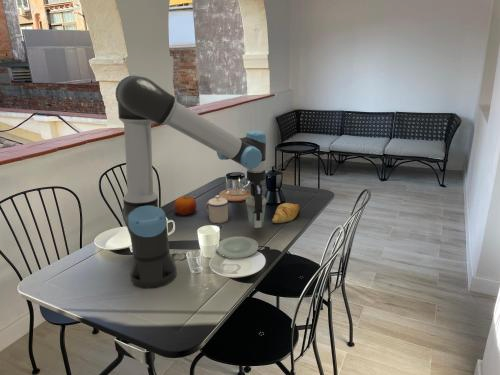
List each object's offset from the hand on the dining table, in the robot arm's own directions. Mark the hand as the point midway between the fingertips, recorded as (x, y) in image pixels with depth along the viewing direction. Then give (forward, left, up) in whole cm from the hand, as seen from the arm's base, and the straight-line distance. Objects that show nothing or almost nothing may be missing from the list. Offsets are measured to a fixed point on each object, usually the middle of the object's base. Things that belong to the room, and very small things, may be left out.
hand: (256, 223), depth 153 cm
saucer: (-10, -13, -5) cm, 17 cm away
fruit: (-30, +28, -5) cm, 41 cm away
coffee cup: (0, 0, -1) cm, 1 cm away
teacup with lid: (-16, +18, -5) cm, 24 cm away
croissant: (+16, +14, -5) cm, 22 cm away
